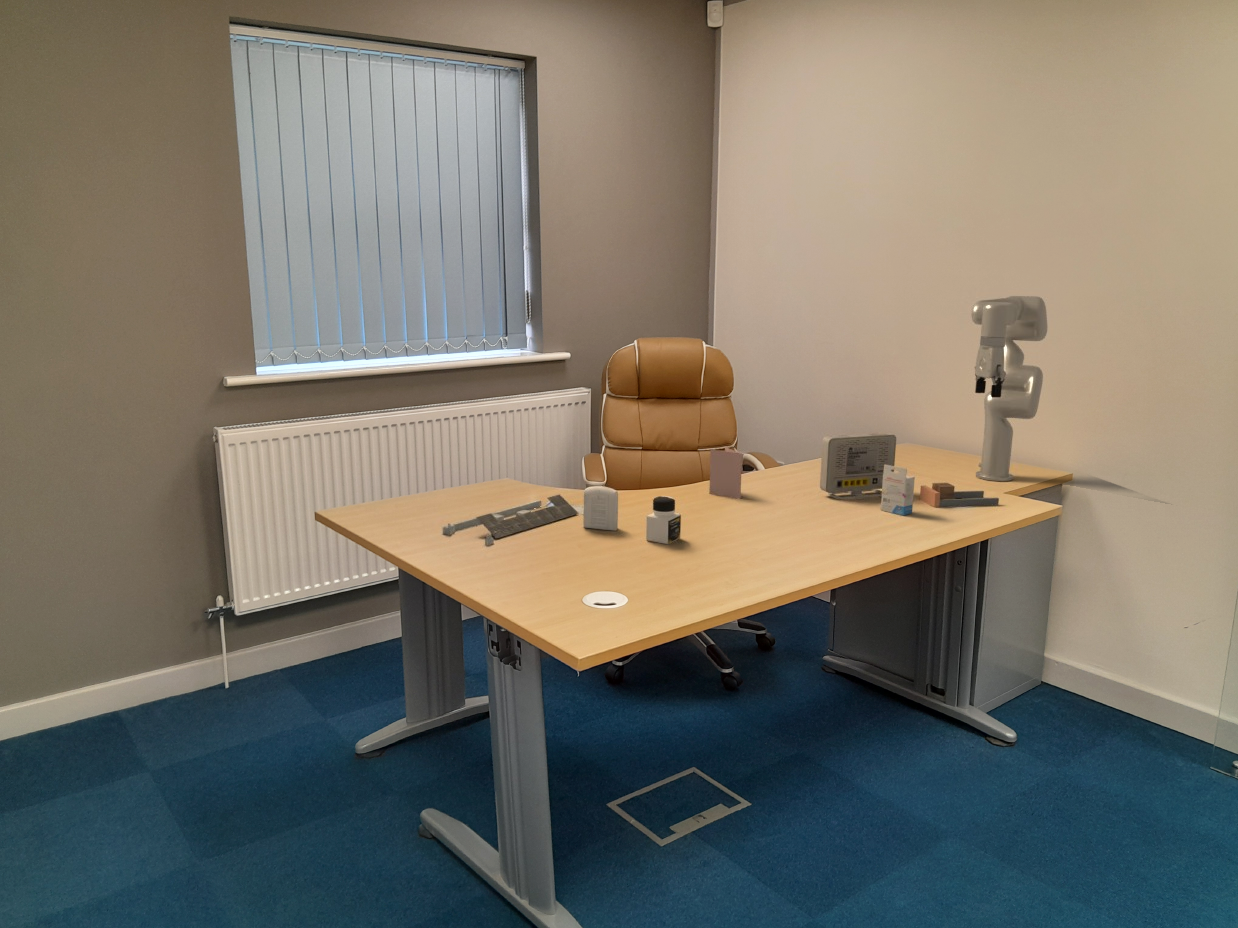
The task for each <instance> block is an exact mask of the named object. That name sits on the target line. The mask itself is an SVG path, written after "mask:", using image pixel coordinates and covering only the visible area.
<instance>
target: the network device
mask: <svg viewBox="0 0 1238 928" xmlns="http://www.w3.org/2000/svg"><path fill="white" fill-rule="evenodd" d="M821 443H822V444H821V461H820V477H819V478H820V480H819V488H820V490H821V491H823V492H826V493H827V495H828V496H829V497H831V498H834V499H837V500H855V499H866V498H868V497H869V498H876V497H877V498H878V497H879V496H880V497H882V484H883V474H884V465H890V466H895V463H896V460H895V459H896V451H897V450H896V448H897V437H896V435H895V434H892V433H889V432H877V433H876V432H875V433H861V434H860V433H859V434H857V433H856V434H844V435H843V434H842V435H829V436H828V435H827V436H824V437H823V439H822V442H821ZM891 471H892V472H895V469H894V470H891ZM874 491H875V492H874ZM863 492H874V493H876V494H873V493H872V494H865V493H863ZM836 494H849V495H850V496H839V495H836Z"/></svg>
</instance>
